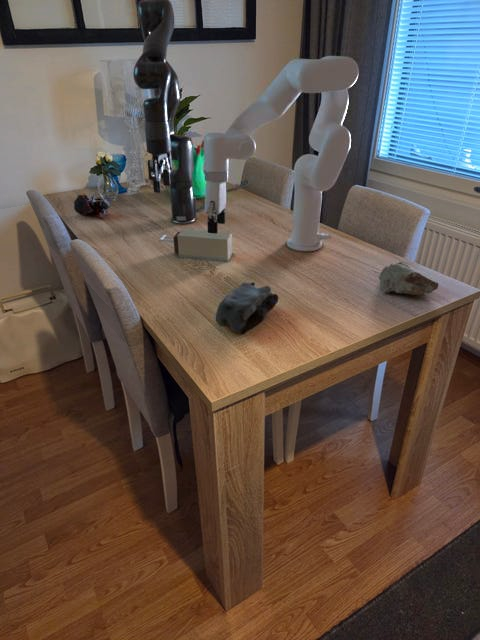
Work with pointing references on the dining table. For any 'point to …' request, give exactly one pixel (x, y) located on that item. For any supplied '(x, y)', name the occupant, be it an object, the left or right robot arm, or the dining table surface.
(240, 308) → the rock
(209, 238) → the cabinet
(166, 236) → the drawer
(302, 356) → the dining table surface
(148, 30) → the left robot arm
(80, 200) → the toy
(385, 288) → the artifact
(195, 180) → the toy
